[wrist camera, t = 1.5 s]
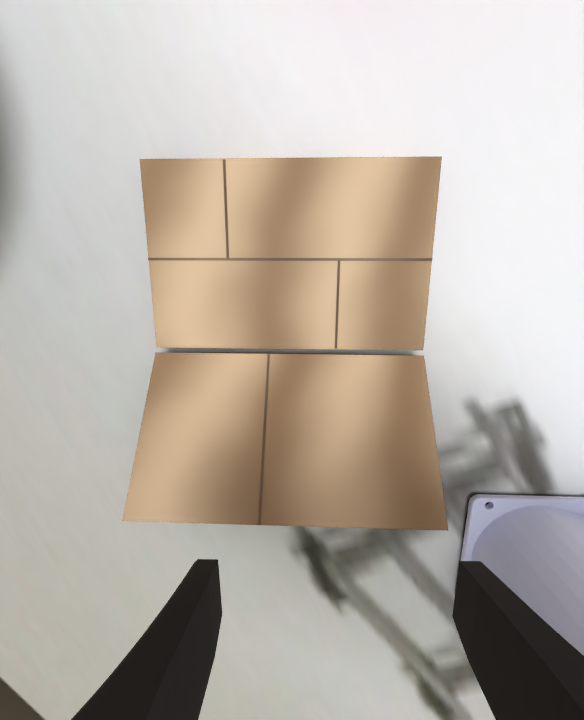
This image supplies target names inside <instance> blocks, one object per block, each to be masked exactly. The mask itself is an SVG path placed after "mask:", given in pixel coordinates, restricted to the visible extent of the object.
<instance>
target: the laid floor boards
mask: <svg viewBox="0 0 584 720" xmlns="http://www.w3.org/2000/svg"><path fill="white" fill-rule="evenodd" d="M441 159H442V157H338V158H220V159H140V168H141V179H142V190H143V201H144V212H145V223H146V234H147V245H148V256H149V258H148V260H149V267H150V278H151V290H152V301H153V312H154V323H155V334H156V345H157V347H169V348H260V349H350V350H423V346H424V335H425V325H426V315H427V304H428V294H429V283H430V273H431V263H432V252H433V242H434V232H435V221H436V211H437V201H438V190H439V180H440V170H441Z"/></svg>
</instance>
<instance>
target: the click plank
mask: <svg viewBox="0 0 584 720" xmlns="http://www.w3.org/2000/svg"><path fill="white" fill-rule="evenodd" d="M122 521H142V522H176V523H211V524H245V525H279V526H313V527H348V528H382V529H416V530H448V524H447V517H446V510H445V503H444V496H443V489H442V482H441V475H440V467H439V460H438V453H437V446H436V439H435V432H434V425H433V418H432V410H431V403H430V396H429V389H428V382H427V375H426V368H425V361H424V356H411V355H325V354H239V353H155V359H154V364H153V369H152V374H151V379H150V384H149V389H148V394H147V399H146V404H145V409H144V414H143V419H142V424H141V429H140V434H139V439H138V444H137V449H136V454H135V459H134V464H133V469H132V474H131V479H130V484H129V489H128V494H127V500H126V505H125V510H124V515H123V520H122Z"/></svg>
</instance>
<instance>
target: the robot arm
mask: <svg viewBox="0 0 584 720" xmlns="http://www.w3.org/2000/svg"><path fill="white" fill-rule="evenodd" d="M487 502H490V503H489V504H488V505H485V504H486V503H487ZM221 617H222V606H221V593H220V580H219V567H218V560H207V559H198V560H197V561H196V562H195V563H194V564H193V566H192V567H191V569H190V570H189V572H188V573H187V575H186V576H185V578H184V579H183V581H182V582H181V584H180V585H179V586H178V588H177V589H176V591H175V592H174V594H173V595H172V596H171V598H170V599H169V601H168V602H167V603H166V605H165V606H164V608H163V609H162V610H161V612H160V613H159V614H158V616H157V617H156V618H155V620H154V621H153V622H152V624H151V625H150V626H149V628H148V629H147V630H146V632H145V633H144V634H143V636H142V637H141V638H140V639H139V641H138V642H137V643H136V644H135V646H134V647H133V648H132V649H131V651H130V652H129V653H128V654H127V656H126V657H125V658H124V659H123V660H122V662H121V663H120V664H119V665H118V667H117V668H116V669H115V670H114V672H113V673H112V674H111V675H110V676H109V677H108V679H107V680H106V681H105V682H104V683H103V684H102V686H101V687H100V688H99V689H98V690H97V691H96V693H95V694H94V695H93V696H92V697H91V698H90V699H89V700H88V702H87V703H86V704H85V705H84V706H83V707H82V708H81V709H80V710H79V712H78V713H77V714H76V715H75V716H74V717H73V718H72V719H71V720H198V717H199V714H200V710H201V706H202V703H203V699H204V695H205V691H206V688H207V684H208V680H209V676H210V672H211V669H212V665H213V661H214V657H215V652H216V646H217V641H218V635H219V629H220V623H221ZM453 619H454V622H455V625H456V627H457V630H458V633H459V636H460V639H461V642H462V644H463V647H464V650H465V652H466V655H467V658H468V660H469V663H470V665H471V667H472V669H473V672H474V674H475V676H476V678H477V680H478V682H479V685H480V687H481V689H482V691H483V693H484V695H485V697H486V700H487V702H488V704H489V706H490V708H491V710H492V712H493V715H494V717H495V719H496V720H584V497H563V496H524V495H485V494H478V495H474V496H472V497H471V498H470V501H469V507H468V514H467V521H466V527H465V534H464V541H463V548H462V555H461V561H460V562H459V570H458V577H457V585H456V593H455V600H454V608H453Z"/></svg>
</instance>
